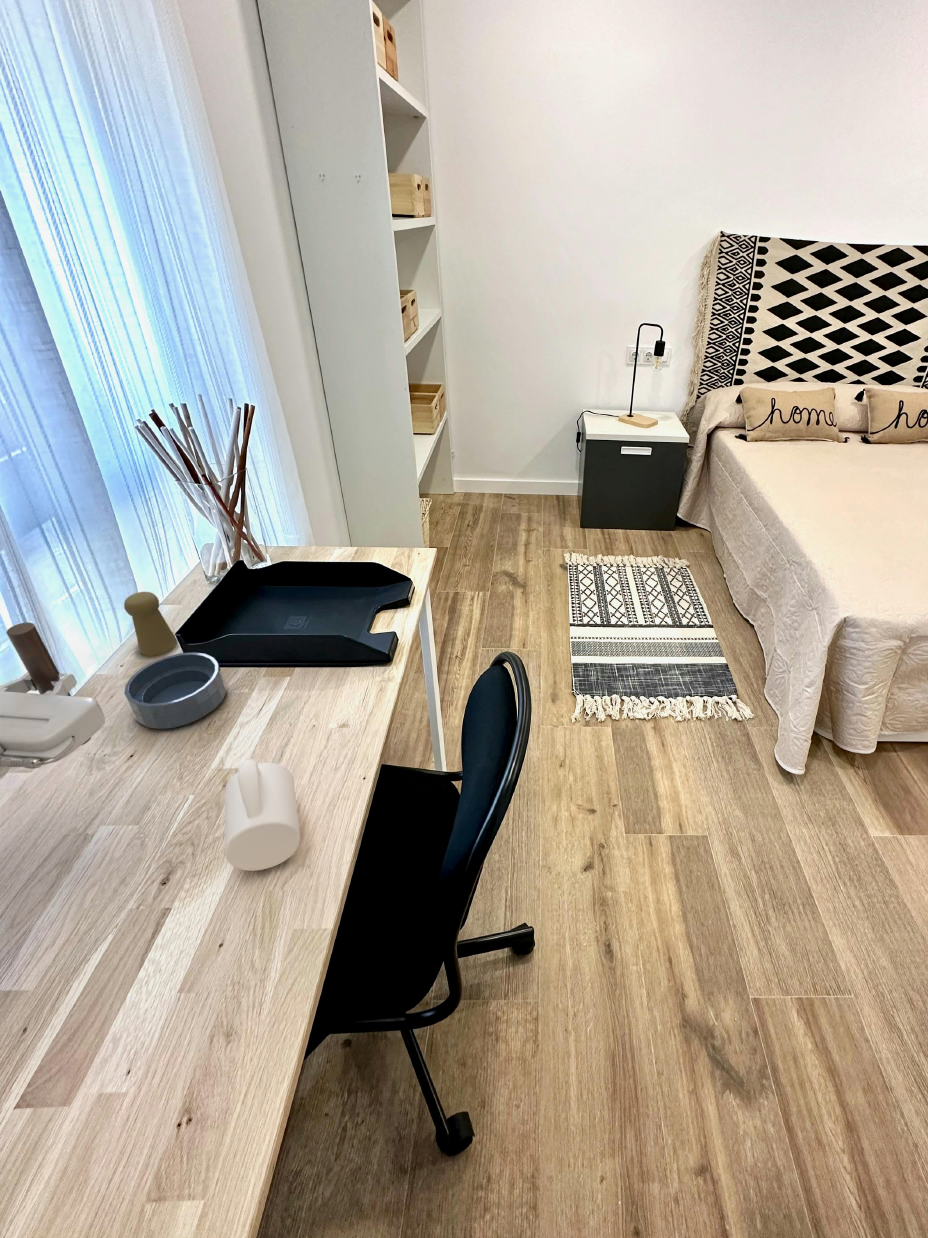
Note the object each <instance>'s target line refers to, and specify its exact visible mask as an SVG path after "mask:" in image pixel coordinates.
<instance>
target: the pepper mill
mask: <svg viewBox="0 0 928 1238" xmlns="http://www.w3.org/2000/svg"><path fill="white" fill-rule="evenodd" d="M123 607H124V608H123V609H124V610H125V612H126V613H127V614H128V615H129V616H130V617H131V618H132V619H131V620H132V622H133V627H134V630H135V631H134V632H135V636H136V641H137V644H138V649H139V653H140V654H141V655H142V656H146V657H153V656H154V657H155V656H159V655H160V656H161V655H163V654H165V653H168V652H170V651H171V650H173V649H174V648H175V647H176V646H177V644H178V640H177V638H176V636H175V634H174V633H173V631H172V629H171V627H170V626H169V624H168V622H167V621H166V619H165V617H164V616H163V614H162V613H161V611H160V610H159V608H160V599H159V597H158V596H157V595H156V594H154V593H153V592H151V591H140V592H135V593H133V594H131V595H129V596H127V598H125V600H124V602H123Z"/></svg>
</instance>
